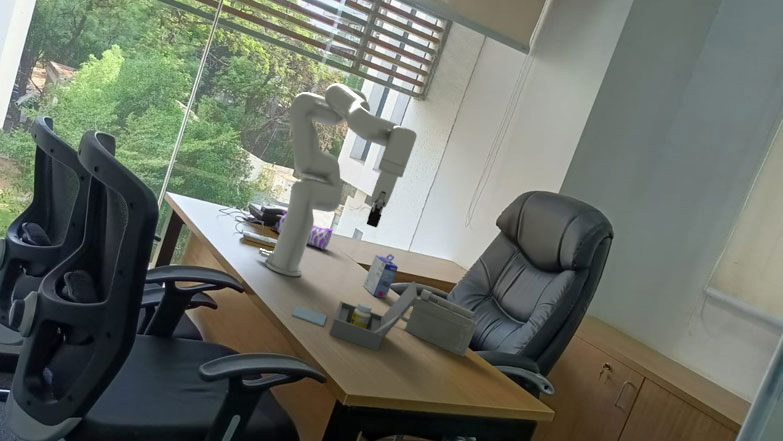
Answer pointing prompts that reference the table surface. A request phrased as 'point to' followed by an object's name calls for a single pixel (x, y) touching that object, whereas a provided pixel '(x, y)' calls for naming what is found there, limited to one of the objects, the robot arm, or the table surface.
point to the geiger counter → (441, 323)
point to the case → (371, 321)
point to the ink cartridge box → (380, 276)
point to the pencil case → (312, 234)
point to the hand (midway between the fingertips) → (372, 223)
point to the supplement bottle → (361, 315)
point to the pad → (309, 315)
